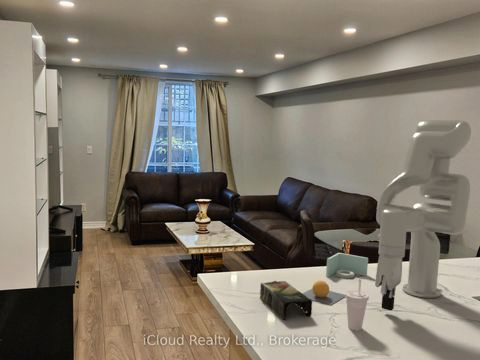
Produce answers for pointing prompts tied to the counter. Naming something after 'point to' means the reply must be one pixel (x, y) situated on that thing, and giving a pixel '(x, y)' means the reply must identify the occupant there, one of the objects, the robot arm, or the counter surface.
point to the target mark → (328, 299)
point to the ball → (320, 289)
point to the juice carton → (283, 298)
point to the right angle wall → (346, 265)
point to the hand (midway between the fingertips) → (387, 308)
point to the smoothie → (356, 308)
